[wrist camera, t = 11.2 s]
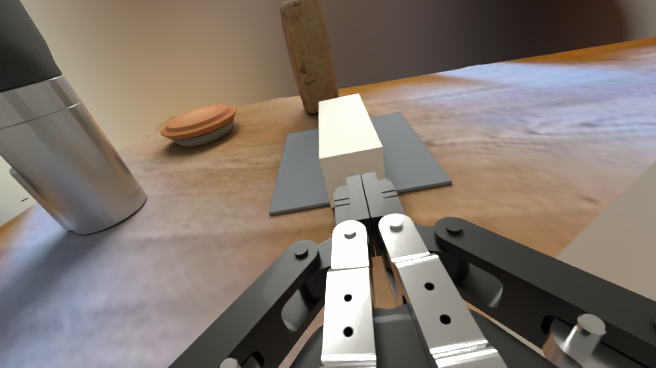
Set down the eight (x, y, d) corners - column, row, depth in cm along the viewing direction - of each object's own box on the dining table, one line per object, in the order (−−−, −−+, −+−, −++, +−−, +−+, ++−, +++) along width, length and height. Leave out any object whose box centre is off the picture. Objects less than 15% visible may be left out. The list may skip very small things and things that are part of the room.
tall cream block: (319, 158, 26) (318, 101, 41) (331, 207, 29) (326, 138, 44) (382, 146, 25) (358, 93, 40) (387, 197, 29) (363, 131, 44)
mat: (269, 215, 31) (268, 212, 31) (287, 136, 49) (287, 134, 49) (451, 183, 29) (451, 180, 29) (399, 114, 48) (399, 112, 47)
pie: (254, 118, 62) (247, 96, 60) (214, 151, 51) (202, 125, 48) (201, 123, 68) (192, 103, 65) (153, 154, 56) (139, 131, 53)
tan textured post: (343, 109, 55) (323, -10, 44) (308, 119, 55) (279, 0, 44) (330, 96, 64) (311, -5, 54) (299, 105, 64) (274, 3, 53)
